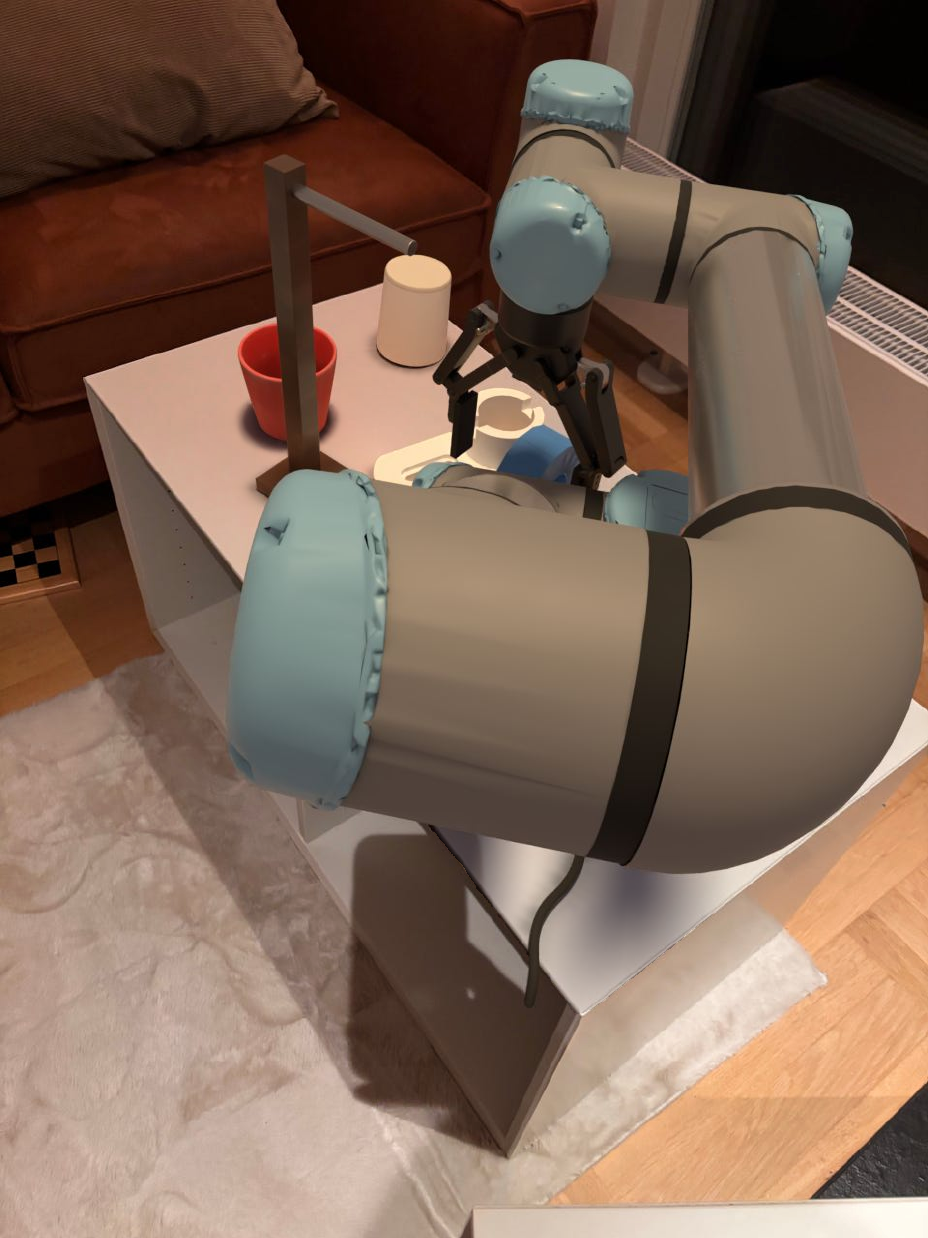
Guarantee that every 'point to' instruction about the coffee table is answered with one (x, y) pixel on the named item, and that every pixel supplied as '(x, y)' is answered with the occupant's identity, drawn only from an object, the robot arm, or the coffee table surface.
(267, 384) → the flower pot
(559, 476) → the tape roll
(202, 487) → the coffee table surface
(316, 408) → the peg stand
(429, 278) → the beige cylinder
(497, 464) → the bracket
